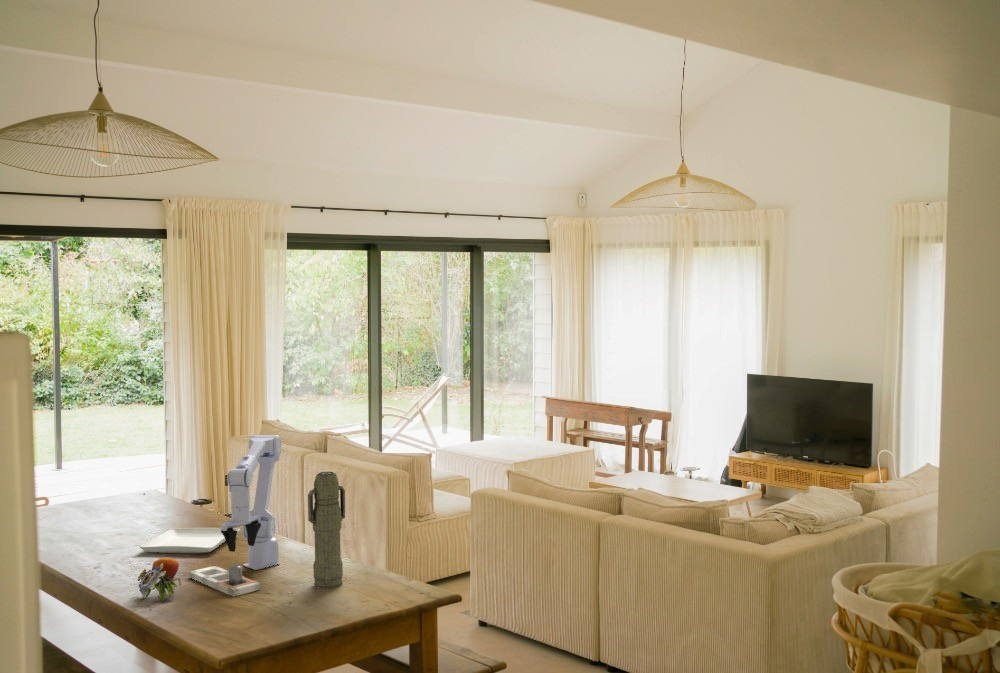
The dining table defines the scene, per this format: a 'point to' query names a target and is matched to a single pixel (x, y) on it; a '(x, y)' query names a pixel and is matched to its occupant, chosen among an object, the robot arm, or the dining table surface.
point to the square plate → (186, 541)
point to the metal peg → (235, 575)
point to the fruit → (167, 566)
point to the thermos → (327, 529)
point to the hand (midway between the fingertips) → (241, 548)
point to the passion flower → (156, 582)
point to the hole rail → (223, 581)
